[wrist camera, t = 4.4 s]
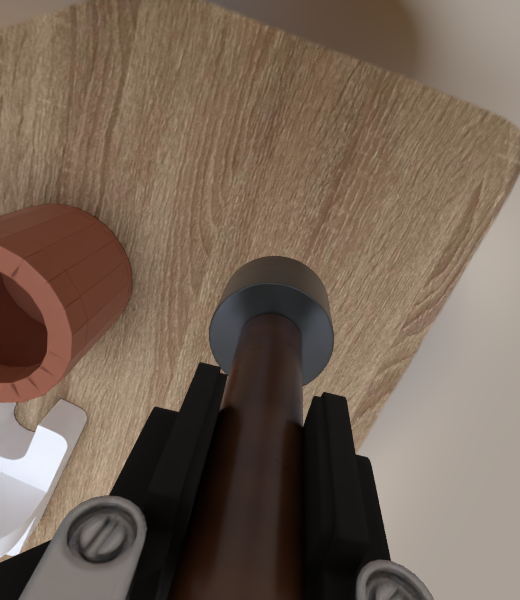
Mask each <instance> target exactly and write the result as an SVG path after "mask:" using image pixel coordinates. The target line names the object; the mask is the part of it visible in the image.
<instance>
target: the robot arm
mask: <svg viewBox="0 0 520 600" xmlns="http://www.w3.org/2000/svg"><path fill="white" fill-rule="evenodd" d="M220 370H221V367H218V366H214V365H210V364H206V363H201V362H200V363H199V365H198V368H197V370H196V372H195V375H194V377H193V380H192V382H191V385H190V387H189V389H188V392H187V394H186V397H185V399H184V402H183V404H182V407H181V409H180V411H179V412H176V411H172V410H168V409H163V408H159V407H154V408H153V410H152V412H151V414H150V416H149V418H148V420H147V421H146V423H145V425H144V427H143V429H142V431H141V433H140V435H139V437H138V439H137V441H136V443H135V445H134V447H133V449H132V451H131V453H130V455H129V457H128V459H127V461H126V463H125V465H124V467H123V469H122V471H121V473H120V475H119V477H118V479H117V481H116V483H115V485H114V487H113V489H112V491H111V493H110V495H109V496H108V495H106V496H100V497H94V498H91V499H89V500H87V501H84V502H82V503H80V504H79V505H78V506H76V507H75V508H74V509H72V510H71V511H70V512H69V513H68V514H67V516H66V517H65V518H64V520H63V521H62V522H61V524H60V526H59V528H58V529H57V531H56V533H55V535H54V537H53V538H52V540H50V541H47V542H45V543H43V544H41V545H39V546H36V547H34V548H32V549H30V550H27V551H25V552H23V553H21V554H19V555H16V556H14V557H12V558H10V559H7V560H5V561H3V562H1V563H0V600H166V599H167V596H168V592H169V588H170V585H171V581H172V578H173V574H174V570H175V567H176V563H177V560H178V557H179V555H180V553H181V549H182V546H183V542H184V539H185V535H186V531H187V528H188V524H189V520H190V517H191V513H192V509H193V506H194V502H195V498H196V495H197V491H198V488H199V484H200V480H201V477H202V473H203V469H204V466H205V462H206V458H207V455H208V451H209V448H210V444H211V440H212V437H213V433H214V429H215V426H216V422H217V418H218V415H219V411H220V407H221V402H222V398H223V394H224V389H225V385H226V381H227V376H228V375H227V374H222V373H220ZM303 504H304V587H305V600H434V598H433V596H432V595H431V593H430V592H429V590H428V589H427V587H426V586H425V585H424V583H423V582H422V581H421V580H420V579H419V578H418V577H417V576H416V575H415V574H414V573H412V572H411V571H409V570H408V569H407V568H405V567H404V566H402V565H400V564H397V563H395V562H392V561H391V559H390V554H389V549H388V544H387V539H386V534H385V530H384V525H383V520H382V515H381V510H380V505H379V500H378V495H377V491H376V485H375V481H374V475H373V471H372V466H371V462H370V460H369V459H368V458H367V457H364V456H360V455H356V454H355V448H354V442H353V436H352V430H351V424H350V418H349V412H348V405H347V400H346V398H345V397H343V396H339V395H335V394H330V393H326V392H323V394H322V395H321V397H318V396H314V397H313V399H312V402H311V405H310V408H309V411H308V414H307V417H306V420H305V423H304V426H303Z"/></svg>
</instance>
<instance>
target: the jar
mask: <svg viewBox="0 0 520 600" xmlns="http://www.w3.org/2000/svg"><path fill="white" fill-rule="evenodd" d="M131 290H132V274H131V268H130V264H129V261H128V258H127V255H126V253H125V251H124V249H123V247H122V245H121V244H120V242H119V241H118V239H117V238H116V237H115V236H114V234H113V233H112V232H111V231H110V230H109V229H108V228H107V227H106V226H105V225H104V224H103V223H102V222H100V221H99V220H98V219H96V218H95V217H93V216H91V215H90V214H88V213H86V212H84V211H82V210H80V209H77V208H74V207H71V206H67V205H61V204H42V205H38V206H31V207H28V208H24V209H21V210H18V211H15V212H11V213H8V214H5V215H2V216H0V403H18V402H25V401H28V400H31V399H33V398H36V397H39V396H42V395H44V394H46V393H47V392H48V391H49V390H51V389H52V388H53V387H54V386H55V385H56V384H58V383H59V382H60V381H61V380H62V379H63V378H64V377H65V376H66V375H67V373H68V372H69V371H70V370H71V369H72V368H73V367H74V366H75V365H76V364H77V363H78V362H79V361H80V359H81V358H82V357H83V356H84V355H85V354H86V353H87V352H88V351H89V350H90V349H91V348H92V346H93V345H94V344H95V343H96V342H97V341H98V340H99V339H100V338H101V337H102V336H103V335H104V333H105V332H106V331H107V330H108V329H109V328H110V327H111V326H112V325H113V324H114V323H115V322H116V320H117V319H118V318H119V317H120V315H121V314H122V312H123V311H124V310H125V308H126V306H127V304H128V301H129V298H130V295H131Z"/></svg>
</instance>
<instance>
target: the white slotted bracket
mask: <svg viewBox="0 0 520 600" xmlns="http://www.w3.org/2000/svg"><path fill="white" fill-rule="evenodd" d="M15 406H16V403H0V558H1V557H2V556H3V555H5V554H6V555H10V556H14V555H17V554H18V553H19V552H20V551H21V549H22V548H23V546H24V544H25V543H26V541H27V540H28V538H29V537H30V535H31V534H32V532H33V531H34V529H35V528H36V526H37V525H38V523H39V521H40V520H41V518H42V515H43V513H44V511H45V509H46V507H47V505H48V503H49V500H50V498H51V496H52V494H53V492H54V490H55V488H56V485H57V483H58V481H59V479H60V477H61V475H62V473H63V471H64V468H65V466H66V464H67V462H68V460H69V458H70V456H71V453H72V451H73V449H74V447H75V445H76V443H77V441H78V438H79V436H80V434H81V432H82V430H83V428H84V426H85V424H86V421H87V415H86V413H85V412H84V411H83V410H82V409H81V408H79V407H77V406H75V405H73V404H71V403H69V402H67V401H65V400H63V399H60V400H59V401H58V402H57V404H56V405H55V406H54V407H53V408H52V409H51V411H50V412H49V413H48V414H47V415H46V416H45V417H44V419H43V420H42V421H41V422H40V423H39V424H38V427H37V429H36V431H35V432H32V431H29V430H27V429H25V428H23V427H22V426H21V425H19V423H18V422H17V421H16V419H15V417H14V408H15Z"/></svg>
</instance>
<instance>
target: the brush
mask: <svg viewBox="0 0 520 600" xmlns="http://www.w3.org/2000/svg"><path fill="white" fill-rule="evenodd" d="M209 342H210V347H211V351H212V354H213V356H214V358H215V360H216V362H217V363H218V365H219V366H220V367H221V369H222V370H223V371H224V372H225V373H226V374H227V375H228V379H227V383H226V387H225V390H224V394H223V398H222V402H221V407H220V411H219V415H218V418H217V422H216V426H215V429H214V433H213V437H212V440H211V444H210V448H209V451H208V455H207V458H206V462H205V466H204V469H203V473H202V477H201V480H200V484H199V488H198V491H197V495H196V498H195V502H194V506H193V509H192V513H191V517H190V520H189V524H188V528H187V531H186V535H185V539H184V542H183V546H182V549H181V553H180V555H179V557H178V560H177V563H176V567H175V570H174V574H173V578H172V581H171V585H170V588H169V592H168V596H167V599H166V600H305V587H304V504H303V386H304V385H306V384H308V383H310V382H311V381H312V380H314V379H315V378H316V377H317V376H318V375H319V374H320V373H321V372H322V371H323V370H324V368H325V367H326V365H327V364H328V362H329V360H330V357H331V355H332V351H333V346H334V332H333V326H332V320H331V313H330V307H329V300H328V295H327V292H326V289H325V287H324V285H323V283H322V281H321V280H320V278H319V277H318V276H317V275H316V273H315V272H314V271H313V270H311V269H310V268H309V267H308V266H306V265H304V264H303V263H301V262H299V261H297V260H294V259H291V258H287V257H282V256H267V257H262V258H258V259H255V260H252V261H250V262H248V263H246V264H245V265H243V266H242V267H240V268H239V269H238V270H237V271H236V272H235V273H234V274H233V276H232V277H231V278H230V280H229V281H228V283H227V285H226V288H225V290H224V292H223V295H222V297H221V299H220V301H219V304H218V306H217V308H216V310H215V313H214V315H213V317H212V320H211V324H210V329H209Z"/></svg>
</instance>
